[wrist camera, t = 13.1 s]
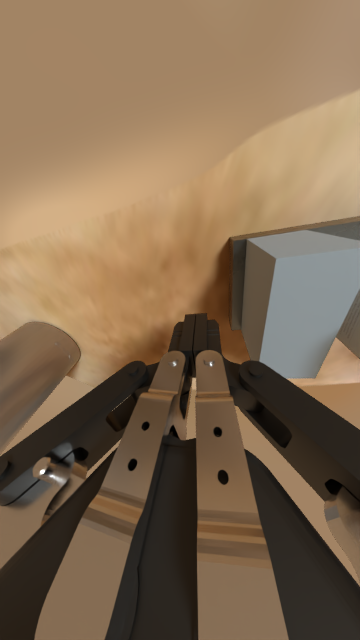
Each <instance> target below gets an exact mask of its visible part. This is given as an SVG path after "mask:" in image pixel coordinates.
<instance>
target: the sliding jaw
mask: <svg viewBox="0 0 360 640" xmlns="http://www.w3.org/2000/svg"><path fill="white" fill-rule="evenodd" d="M359 289H360V241H359V240H354V239H349V238H344V237H339V236H334V235H329V234H324V233H319V232H314V231H309V230H301V231H295V232H288V233H282V234H275V235H269V236H263V237H256V238H250V239H247V245H246V261H245V277H244V293H243V309H242V325H241V331H242V334H243V338H244V341H245V344H246V347H247V350H248V353H249V356H250V360H254V361H259V362H262V363H264V364H265V365H267V366H268V367H270V368H271V369H273V370H274V371H276V372H277V373H279V374H280V375H281V376H283V377H284V378H316V376H317V374H318V372H319V370H320V368H321V366H322V364H323V362H324V360H325V358H326V356H327V354H328V352H329V350H330V348H331V345H332V343H333V341H334V339H335V337H336V335H337V333H338V331H339V329H340V327H341V325H342V323H343V321H344V319H345V317H346V315H347V313H348V311H349V309H350V307H351V305H352V303H353V301H354V299H355V297H356V295H357V293H358V291H359Z"/></svg>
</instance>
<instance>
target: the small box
mask: <svg viewBox="0 0 360 640" xmlns="http://www.w3.org/2000/svg"><path fill="white" fill-rule="evenodd" d="M336 338H337V339H339V340H340V341H341V342H342V343H343V344H344V345H345V346H346V347H347V348H348V349H350V350H351V351H352V352H353V353H354V354H355V355H356V356H357V357H358V358H359V359H360V289H359V291H358V293H357V295H356V297H355V299H354V301H353V303H352V305H351V307H350V309H349V311H348V313H347V315H346V317H345V319H344V321H343V323H342V325H341V327H340V329H339V331H338V333H337V335H336Z"/></svg>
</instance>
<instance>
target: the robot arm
mask: <svg viewBox="0 0 360 640" xmlns="http://www.w3.org/2000/svg"><path fill="white" fill-rule="evenodd" d="M79 358H80V351H79V348H78V346H77V345H76V343H75V342H74V341H73V340H72V339H71V338H70V337H69V336H68V335H67V334H65V333H64V332H63V331H61V330H59V329H57V328H56V327H53V326H51V325H48V324H45V323H41V322H29V323H26V324H24V325H23V326H21V327H20V328H18V329H17V330H15V331H14V332H12V333H11V334H9V335H7V336H6V337H4V338H3V339H1V340H0V455H1V453H2V452H3V451H4V450H5V448H6V447H7V446H8V445H9V444H10V442H11V441H12V440H13V439H14V437H15V436H16V435H17V434H18V433H19V431H20V430H21V429H22V428H23V427H24V425H25V424H26V423H27V422H28V421H29V419H30V418H31V417H32V416H33V414H34V413H35V412H36V411H37V409H38V408H39V407H40V406H41V405H42V403H43V402H44V401H45V400H46V399H47V397H48V396H49V395H50V394H51V393H52V391H53V390H54V389H55V388H56V386H57V385H58V384H59V383H60V382H61V381H62V379H63V378H64V377H65V376H66V374H67V373H68V372H69V371H70V370H71V368H72V367H73V366H74V365H75V364H76V362H77V361H78V360H79ZM192 378H196V391H197V395H196V400H195V408H196V438H194V439H189V440H186V435H187V428H186V425H187V416H188V410H189V404H190V398H191V391H192V387H191V385H192ZM130 395H131V396H130ZM127 397H128V398H127ZM126 398H127V399H126ZM125 399H126V400H125ZM124 400H125V401H124ZM120 403H121V404H120ZM119 404H120V405H119ZM118 405H119V406H118ZM117 406H118V407H117ZM235 406H238V407H239V409H240V410H241V412H242V413H243V414H244V415H245V416H246V417H247V418H248V419H249V420H250V421H251V422H252V424H253V425H254V426H255V427H256V428H257V429H258V430H259V431H260V432H261V433H262V434H263V435H264V436H265V438H266V439H268V441H269V442H270V443H271V444H272V445H273V446H274V447H275V448H276V449H277V450H278V452H279V453H280V454H281V455H282V456H283V457H284V458H285V459H286V460H287V461H288V462H289V463H290V464H291V466H292V467H293V468H294V469H295V470H296V471H297V472H298V473H299V474H300V475H301V476H302V477H303V479H304V480H305V481H306V482H307V483H308V484H309V485H310V486H311V487H312V488H313V489H314V490H315V491H316V493H317V494H318V495H319V496H320V497H321V498H322V499H323V500H324V501H325V504H324V513H325V518H326V522H327V524H328V527H329V529H330V531H331V533H332V535H333V536H334V538H335V540H336V541H337V543H338V544H339V545H340V547H341V548H342V550H343V551H344V552H345V554H346V555H347V556H348V558H349V560H350V562H351V563H352V565H353V567H354V569H355V571H356V573H357V576H358V578H359V581H360V430H359V429H358V428H356V427H355V426H353V425H352V424H351V423H349V422H348V421H346V420H345V419H343V418H342V417H340V416H339V415H338V414H336V413H335V412H333V411H332V410H330V409H329V408H328V407H326V406H325V405H323V404H322V403H320V402H319V401H317V400H316V399H315V398H313V397H312V396H310V395H309V394H307V393H306V392H304V391H303V390H302V389H300V388H299V387H297V386H296V385H294V384H293V383H291V382H290V381H289V380H287V379H286V378H284V377H283V376H281V375H280V374H279V373H277V372H276V371H274V370H273V369H271V368H270V367H268V366H267V365H265V364H264V363H262V362H259V361H254V360H250V361H246V362H244V363H242V364H241V365H240V364H236V363H233V362H230V361H228V360H227V359H225V358H224V356H223V355H222V352H221V344H220V334H219V325H218V323H217V322H216V321H215V320H207V313H201V314H187V315H185V319H184V322H178V323H177V324H176V326H175V327H174V331H173V335H172V339H171V343H170V346H169V350H168V353H166V354H165V355H164V356H163V357H162V358H161V360H160V362H158V363H155V364H152V365H148V366H146V365H145V363H143V362H142V361H134V362H131V363H129V364H127V365H126V366H125V367H123V368H122V369H121V370H119V371H118V372H116V373H115V374H114V375H112V376H111V377H109V378H108V379H107V380H105V381H104V382H103V383H101V384H100V385H98V386H97V387H96V388H94V389H93V390H92V391H90V392H89V393H87V394H86V395H85V396H83V397H82V398H81V399H79V400H78V401H76V402H75V403H74V404H72V405H71V406H69V407H68V408H67V409H65V410H64V411H62V412H61V413H60V414H58V415H57V416H56V417H54V418H53V419H51V420H50V421H49V422H47V423H46V424H45V425H43V426H42V427H40V428H39V429H38V430H36V431H35V432H33V433H32V434H31V435H29V436H28V437H27V438H25V439H24V440H23V441H21V442H20V443H19V444H17V445H16V446H14V447H13V448H12V449H10V450H9V451H7V452H6V453H4V454H3V455H2V456H0V640H360V587H359V585H358V584H357V583H356V581H355V580H354V579H353V577H352V576H351V575H350V574H349V572H348V571H347V570H346V568H345V567H344V566H343V564H342V563H341V562H340V561H339V559H338V558H337V557H336V555H335V554H334V553H333V552H332V550H331V549H330V548H329V546H328V545H327V544H326V542H325V541H324V540H323V539H322V537H321V536H320V535H319V533H318V532H317V531H316V530H315V528H314V527H313V526H312V525H311V523H310V522H309V521H308V519H307V518H306V517H305V515H304V514H303V513H302V511H301V510H300V509H299V508H298V506H297V505H296V504H295V503H294V501H293V500H292V499H291V497H290V496H289V495H288V494H287V492H286V491H285V490H284V488H283V487H282V486H281V484H280V483H279V482H278V481H277V479H276V478H275V477H274V475H273V474H272V473H271V472H270V470H269V469H268V468H267V467H266V466H265V465H264V464H263V463H262V462H261V461H260V460H259V459H258V458H257V457H256V456H254V455H253V454H252V453H250V452H249V451H248V450H246V449H244V446H243V442H242V437H241V433H240V428H239V424H238V419H237V414H236V410H235ZM116 407H117V408H116ZM114 408H115V409H114ZM113 409H114V410H113ZM112 410H113V411H112ZM121 438H122V439H121ZM120 439H121V441H120V444H119V446H118V448H116V449H115V450H114V451H113V452H112V453H111V454H110V455H109V456H108V457H107V458H106V459H105V460H104V461H103V462H102V463H101V464H100V465H99V467H98V468H97V469H96V470H95V471H94V472H93V473H92V474H91V475H90V476H89V477H88V478H86V474H87V471H88V470H89V469H90V468H91V467H92V466H94V464H96V463H97V462H98V461H99V460H100V459H101V458H102V457H103V456H104V455H105V454H106V453H107V452H108V451H109V450H110V449H111V448H112V447H113V446H114V445H115V444H116V443H117V442H118V441H119V440H120Z"/></svg>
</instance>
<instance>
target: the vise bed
mask: <svg viewBox="0 0 360 640" xmlns="http://www.w3.org/2000/svg"><path fill="white" fill-rule="evenodd" d="M301 230H309V231H314V232H319V233H324V234H329V235H334V236H339V237H344V238H349V239H354V240H359V241H360V216H358V217H352V218H346V219H340V220H333V221H327V222H321V223H315V224H309V225H302V226H296V227H290V228H284V229H278V230H271V231H265V232H259V233H253V234H246V235H240V236H234V237H230V278H229V321H230V326H231V330H241V325H242V309H243V293H244V277H245V261H246V245H247V239H250V238H256V237H263V236H269V235H275V234H282V233H288V232H295V231H301Z"/></svg>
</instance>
